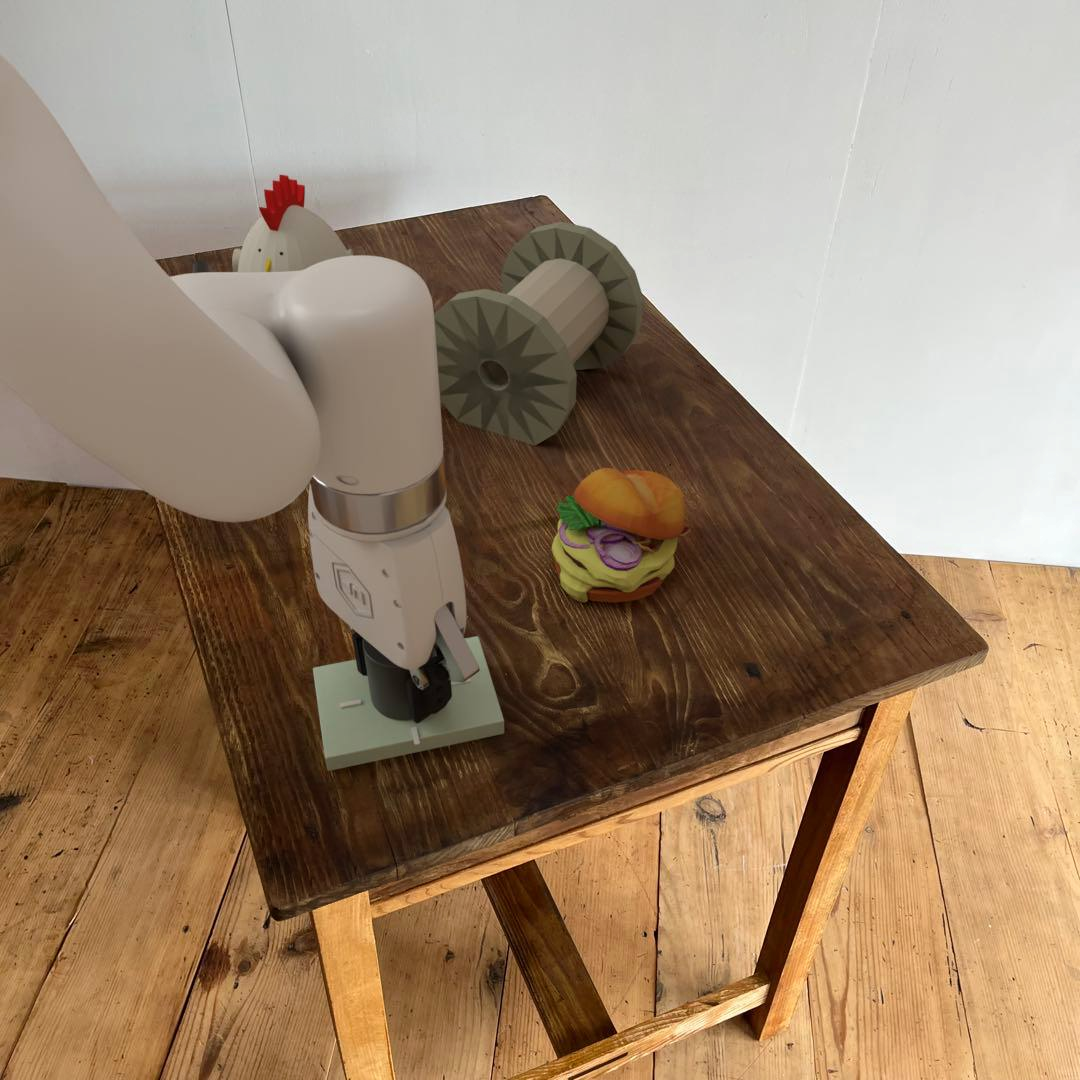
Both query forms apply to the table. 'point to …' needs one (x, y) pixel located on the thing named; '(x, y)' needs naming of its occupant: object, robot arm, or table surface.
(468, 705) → the dial panel
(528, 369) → the spool
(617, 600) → the cheeseburger
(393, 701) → the knob
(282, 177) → the kitchen timer
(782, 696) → the table surface
